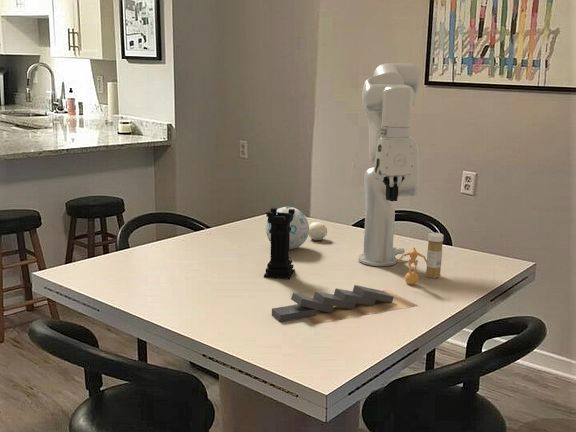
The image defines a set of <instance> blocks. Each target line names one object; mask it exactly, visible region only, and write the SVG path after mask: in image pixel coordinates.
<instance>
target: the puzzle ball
mask: <svg viewBox="0 0 576 432" xmlns="http://www.w3.org/2000/svg"><path fill="white" fill-rule="evenodd" d="M289 209H295V213H294V214H293V220H292V221H291V223H290V227H291V231H290V242H289V251H292V250H295V249H298V247H299V248H300V247H301V246H302V245H303V244H305V242H306V241H307V239H308V237H309V235H308V233H309V226H310V224H309V221H308V217H307V216H306V215H305V214H304V213H303V211H301V210H299V209H298V208H297V207H296V208H295V207H294V206H283V207H279V208H277V213H278V212H281V213H289ZM277 213H276V215H277ZM265 223H266V224H265V233H266V236H267V239H268V241H269V242H270V243H271V233H269V230H270V229H271V223H268V219H267V220H266V222H265Z"/></svg>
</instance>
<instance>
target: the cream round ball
mask: <svg viewBox="0 0 576 432" xmlns="http://www.w3.org/2000/svg"><path fill="white" fill-rule="evenodd" d="M326 236H328V228H327V226H326V225H325V224H324V223H323V222H320V221H313V222H311V223H310V224H309V233H308V237H309V238H310V239H312V240H314V241H321V240H323V239H324V238H325V237H326Z"/></svg>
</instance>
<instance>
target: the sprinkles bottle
mask: <svg viewBox="0 0 576 432" xmlns="http://www.w3.org/2000/svg"><path fill="white" fill-rule="evenodd" d="M427 235H428V236H427V240H428V242H427V243H428V244H427V253H426V260H427V263H426V271H425V272H426V273H425V276H427V277H428V278H432V279H437V278H440V277H441V270H442V269H441V267H442V261H443V260H442V258H443V243H444V234H443V233H440V232H429V233H428V234H427Z"/></svg>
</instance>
